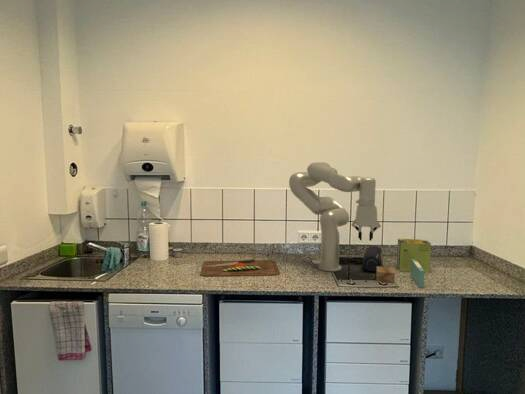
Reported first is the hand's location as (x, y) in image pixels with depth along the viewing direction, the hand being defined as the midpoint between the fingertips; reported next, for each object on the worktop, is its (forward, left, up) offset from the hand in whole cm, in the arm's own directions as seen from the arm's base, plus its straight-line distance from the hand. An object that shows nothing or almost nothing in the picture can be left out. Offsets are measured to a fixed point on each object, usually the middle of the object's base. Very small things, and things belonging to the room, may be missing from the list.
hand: (365, 239), depth 195 cm
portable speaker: (+6, +21, -20) cm, 30 cm away
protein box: (+27, +21, -20) cm, 39 cm away
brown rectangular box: (+10, 0, -20) cm, 22 cm away
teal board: (+25, 0, -19) cm, 32 cm away
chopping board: (-64, +3, -20) cm, 67 cm away
